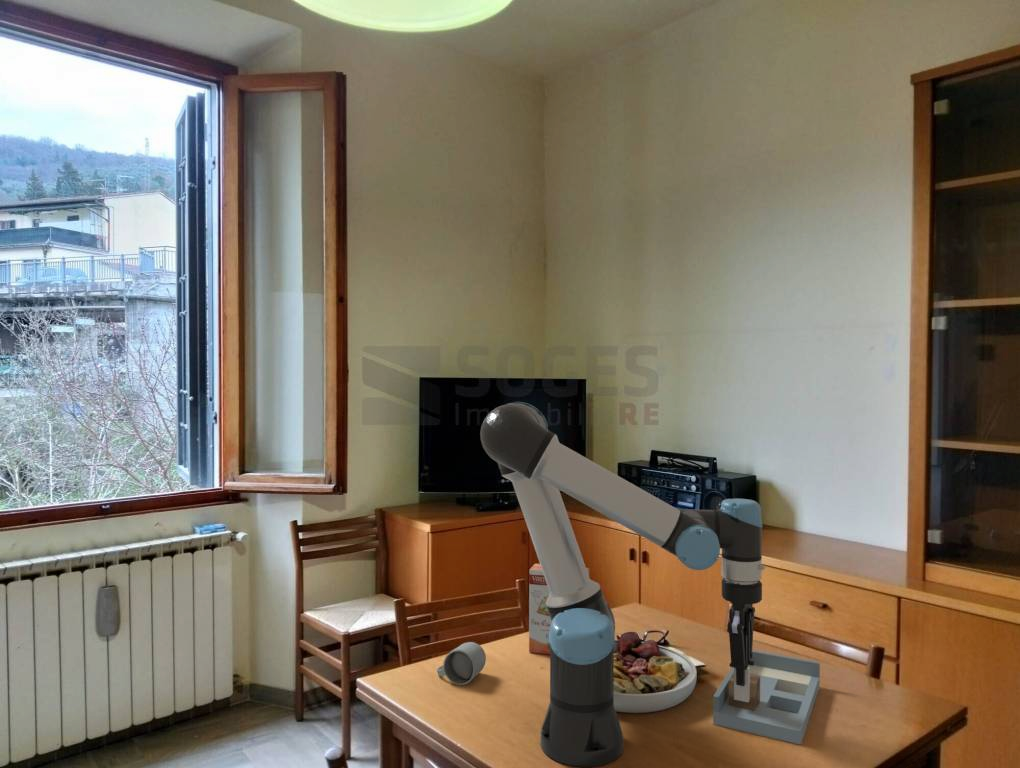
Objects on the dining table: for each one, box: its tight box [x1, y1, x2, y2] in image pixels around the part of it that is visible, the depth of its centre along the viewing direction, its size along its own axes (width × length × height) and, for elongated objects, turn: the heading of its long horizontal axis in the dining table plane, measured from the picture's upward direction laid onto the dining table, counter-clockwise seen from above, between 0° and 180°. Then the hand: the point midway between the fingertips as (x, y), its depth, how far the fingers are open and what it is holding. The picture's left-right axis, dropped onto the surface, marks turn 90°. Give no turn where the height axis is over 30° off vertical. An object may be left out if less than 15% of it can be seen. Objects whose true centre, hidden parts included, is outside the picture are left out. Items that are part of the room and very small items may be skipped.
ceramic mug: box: [436, 641, 487, 686], centre depth 162 cm, size 11×8×8 cm
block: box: [729, 673, 760, 711], centre depth 143 cm, size 5×5×5 cm
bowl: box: [614, 631, 698, 714], centre depth 157 cm, size 30×30×8 cm
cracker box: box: [528, 563, 590, 656], centre depth 176 cm, size 14×6×21 cm, turn 73°
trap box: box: [712, 649, 821, 746], centre depth 148 cm, size 28×16×6 cm, turn 150°
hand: (742, 699), depth 141 cm, fingers closed
